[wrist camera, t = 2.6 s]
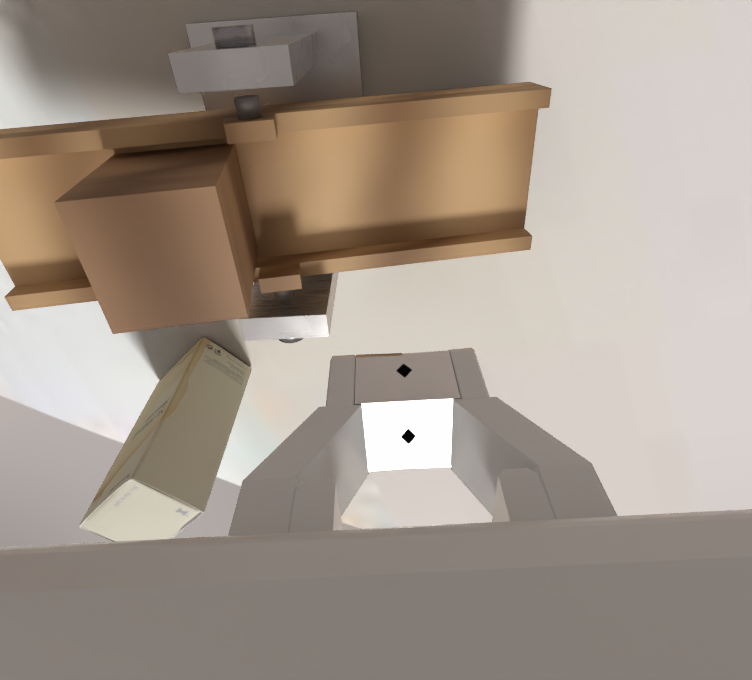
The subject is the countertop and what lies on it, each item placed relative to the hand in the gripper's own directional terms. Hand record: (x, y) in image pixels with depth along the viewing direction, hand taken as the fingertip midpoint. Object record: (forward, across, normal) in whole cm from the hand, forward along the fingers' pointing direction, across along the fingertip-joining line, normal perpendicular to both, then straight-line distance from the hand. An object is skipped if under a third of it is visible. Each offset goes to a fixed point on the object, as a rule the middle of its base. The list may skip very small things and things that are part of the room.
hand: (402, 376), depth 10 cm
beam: (+17, +6, 0) cm, 18 cm away
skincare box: (+20, +14, +15) cm, 29 cm away
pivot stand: (+20, +5, 0) cm, 20 cm away
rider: (+13, +8, 0) cm, 15 cm away
